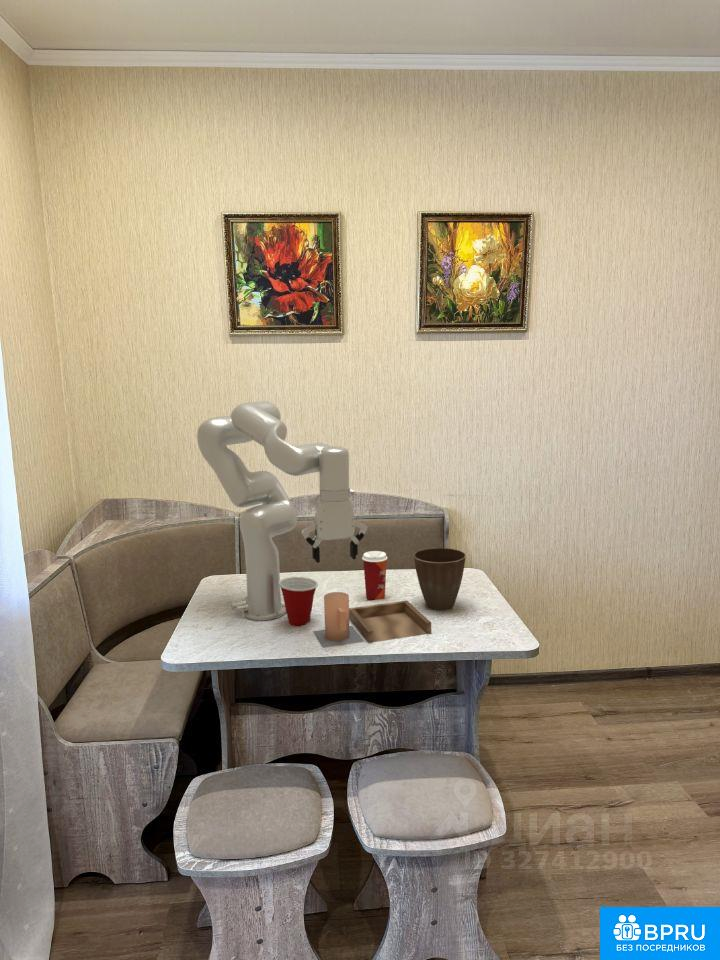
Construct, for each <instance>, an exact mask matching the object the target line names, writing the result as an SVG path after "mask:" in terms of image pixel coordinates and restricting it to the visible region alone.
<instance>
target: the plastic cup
mask: <svg viewBox="0 0 720 960" xmlns="http://www.w3.org/2000/svg"><path fill="white" fill-rule="evenodd" d="M318 583H319V582H318V581H317V580H315V579H313V578H310V577H306V576H290V577H288V576H287V577H285V578H282V579H280V581H279V585H280V591H281V596H282V598H283V602H284V603H283V604H284V605H285V609H286V613H285V614H286V617H287V621H288V623H289V625H290V626H292V627H304V626H307V624H308V623H309V622H310V621H311V615H312V612H313V611H312V610H313V604H314V598H315V597H314V596H315V593H316V589H317V587H319V584H318Z"/></svg>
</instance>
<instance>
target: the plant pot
mask: <svg viewBox="0 0 720 960" xmlns="http://www.w3.org/2000/svg"><path fill="white" fill-rule="evenodd" d="M466 557H467V555H466V553H465V552H463V551H462V550H458V549H455V548H447V547H434V548H433V547H431V548H425V549H420V550H417V551H416V552H414V553H413V560H414V567H415V572H416V576H417V581H418V585H419V589H420V591H421V594H422V597H423V600H424V603H425V605H426V607H427V609H430V610H433V611H439V612H440V611H448V610H452V609H454V606H455V603H456V601H457V598H458V594H459V591H460V589H461V586H462V585H461V584H462V580H463V576H464V570H465V563H466Z"/></svg>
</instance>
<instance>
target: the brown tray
mask: <svg viewBox="0 0 720 960" xmlns="http://www.w3.org/2000/svg"><path fill="white" fill-rule="evenodd" d="M349 621H350V622H351V623H352V624H353V625H354V627H355V628H356V630H358V632H359V633H360V635H362V636H363V638H364V639H365V641H367V643H368V644H371V643H377V642H378V643H379V642H383V641H391V640H396V639H397V640H398V639H404V638H410V637H417V636H422V635H423V636H424V635H430V634H432V622H431V620H430V619H428V617H426V616H425V615H424V614H423V613H422V612H420V611H419V610H418V608H416V607H415V606H414V605H413V604H411V603H410V602H409V601H408V600H401V601H393V602H392V601H391V602H386V603H378V604H377V603H376V604H371V605H365V606H362V605H361V606H355V607H349Z"/></svg>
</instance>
